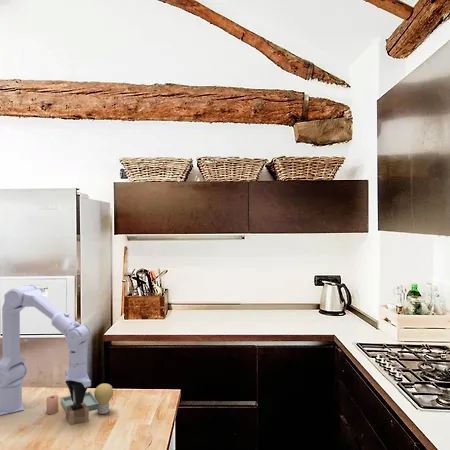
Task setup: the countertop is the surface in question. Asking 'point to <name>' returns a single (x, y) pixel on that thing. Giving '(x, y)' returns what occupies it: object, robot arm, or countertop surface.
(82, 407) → the walnut block
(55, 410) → the terracotta round
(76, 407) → the cylinder
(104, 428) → the countertop surface
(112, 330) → the countertop surface
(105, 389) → the light bulb
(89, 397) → the tray
